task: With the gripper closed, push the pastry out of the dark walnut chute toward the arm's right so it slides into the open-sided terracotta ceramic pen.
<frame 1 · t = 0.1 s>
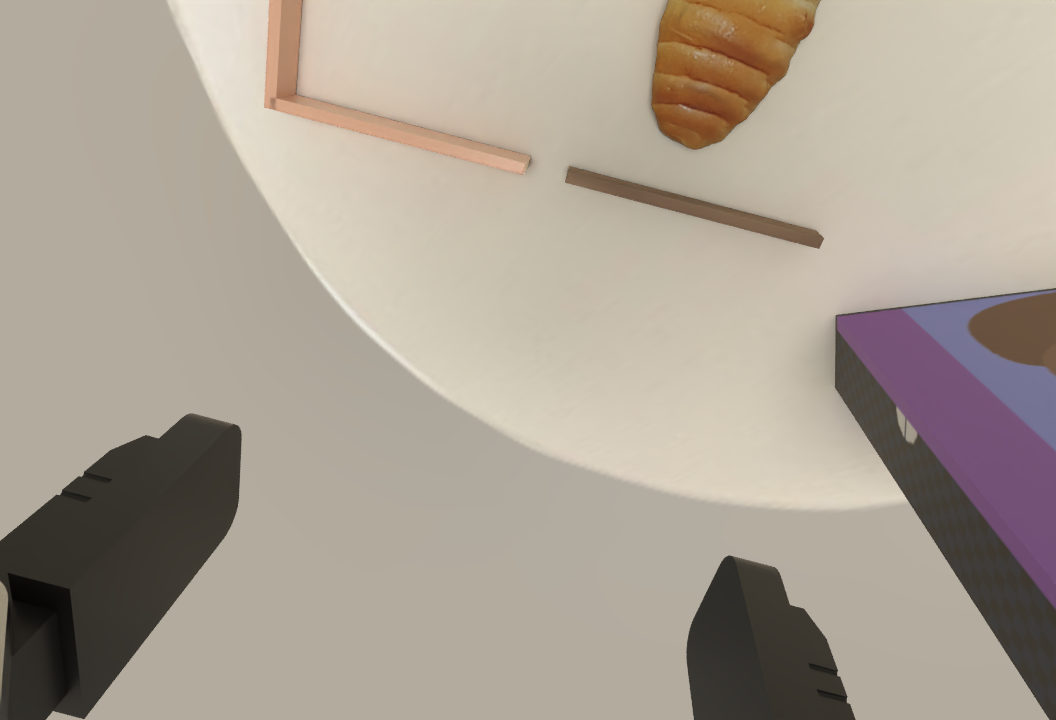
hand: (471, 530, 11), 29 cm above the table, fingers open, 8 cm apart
cereal box: (995, 332, 38), on the table
walnut chute: (747, 41, 33), on the table
pastry: (727, 36, 33), on the table
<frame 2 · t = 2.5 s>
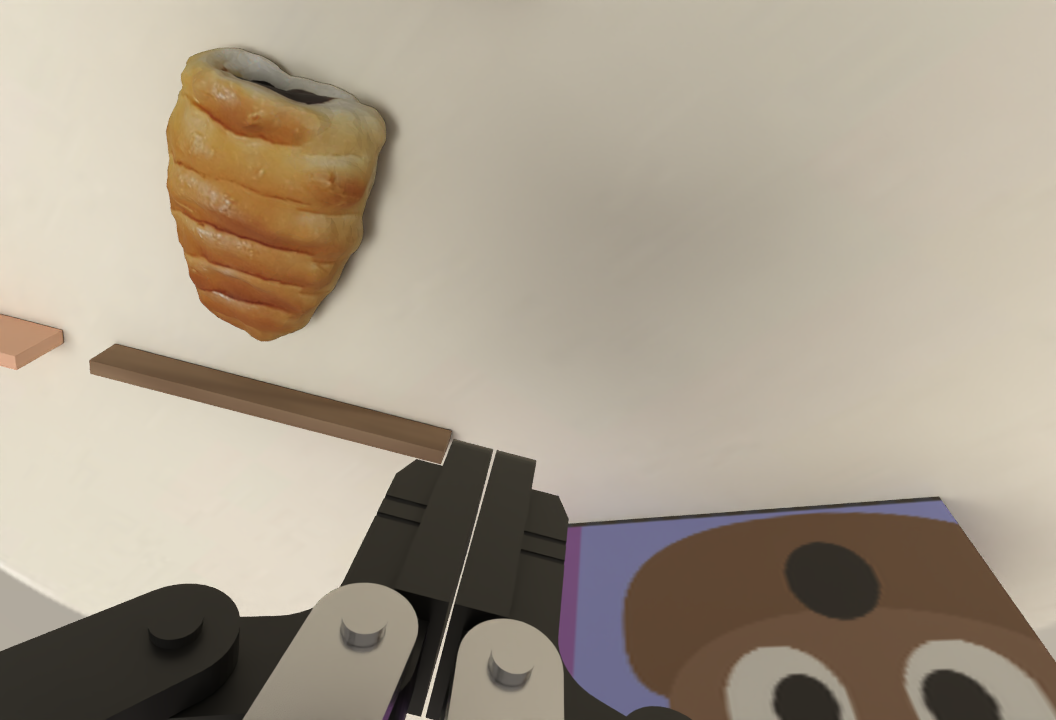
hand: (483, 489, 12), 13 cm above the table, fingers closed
cereal box: (711, 554, 29), on the table
walnut chute: (297, 194, 23), on the table
pastry: (294, 184, 24), on the table
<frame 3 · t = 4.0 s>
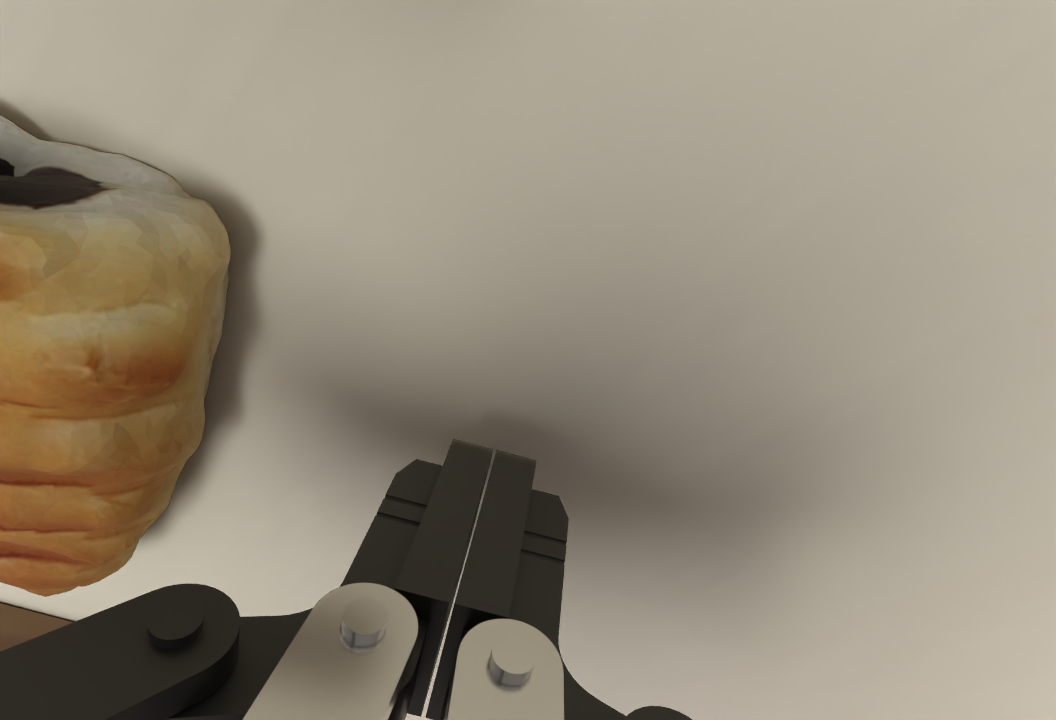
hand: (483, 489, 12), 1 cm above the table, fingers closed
walnut chute: (73, 344, 13), on the table
pastry: (93, 324, 13), on the table
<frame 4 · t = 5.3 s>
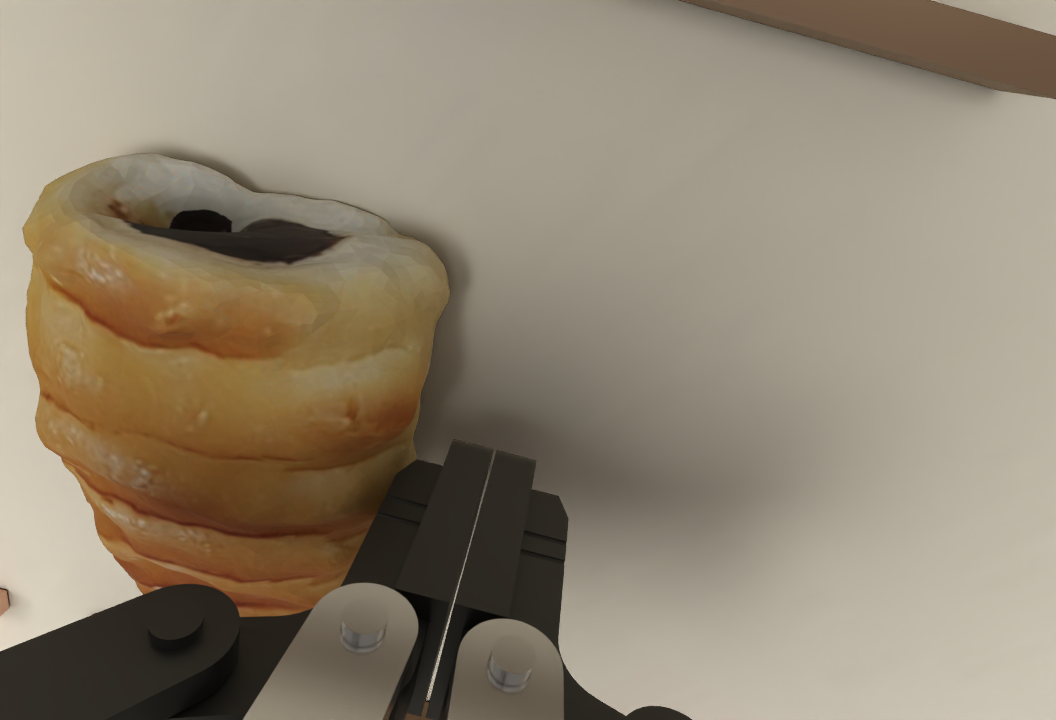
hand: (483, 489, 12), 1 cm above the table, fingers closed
walnut chute: (423, 423, 13), on the table
pastry: (286, 369, 13), on the table, touching gripper
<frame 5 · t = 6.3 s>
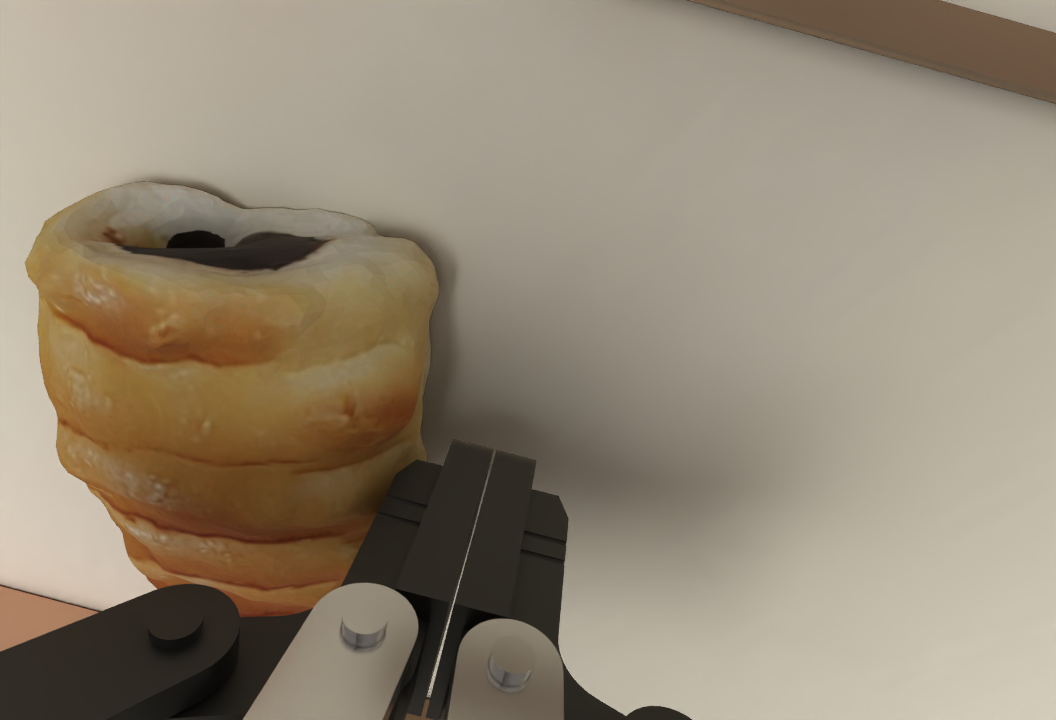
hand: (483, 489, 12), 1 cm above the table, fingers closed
walnut chute: (773, 514, 13), on the table
pastry: (296, 381, 14), on the table
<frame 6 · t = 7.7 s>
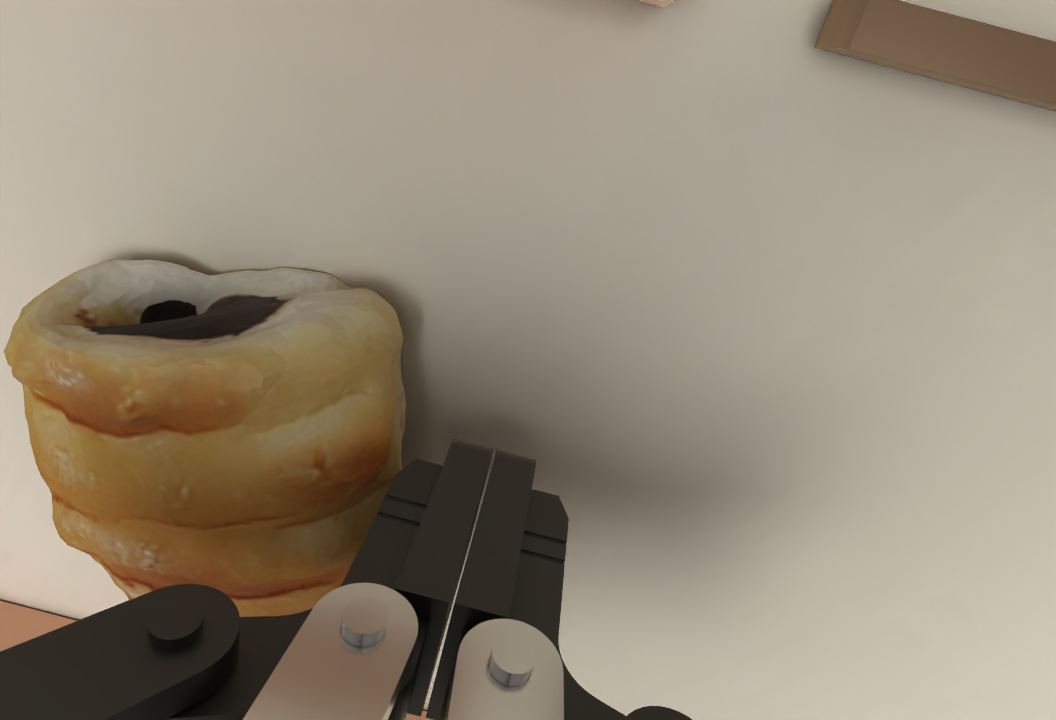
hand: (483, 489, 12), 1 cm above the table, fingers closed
walnut chute: (989, 581, 13), on the table
terracotta pen: (192, 372, 13), on the table
pastry: (284, 432, 14), on the table
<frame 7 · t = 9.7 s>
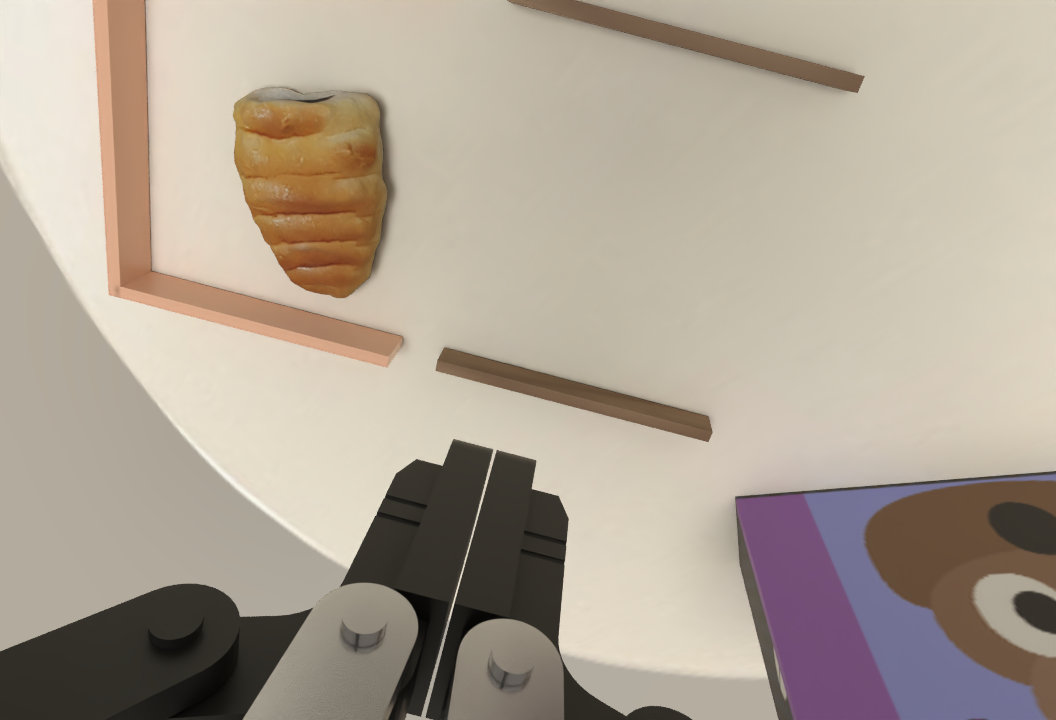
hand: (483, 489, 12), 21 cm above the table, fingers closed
cereal box: (904, 517, 36), on the table
walnut chute: (621, 233, 31), on the table
terracotta pen: (284, 145, 31), on the table
pastry: (331, 176, 31), on the table
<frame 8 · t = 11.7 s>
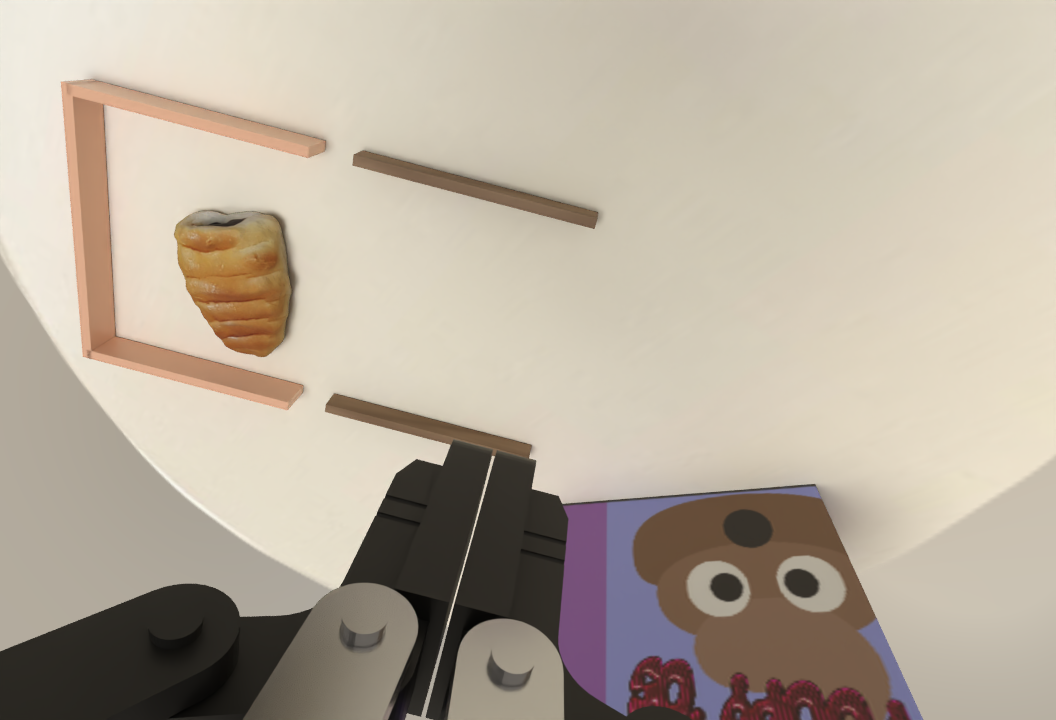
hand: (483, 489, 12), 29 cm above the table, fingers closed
cereal box: (685, 520, 47), on the table
walnut chute: (453, 315, 42), on the table
terracotta pen: (209, 251, 42), on the table
pastry: (252, 268, 43), on the table
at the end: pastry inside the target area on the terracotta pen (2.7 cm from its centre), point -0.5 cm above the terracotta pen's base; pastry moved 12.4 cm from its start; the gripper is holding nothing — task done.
